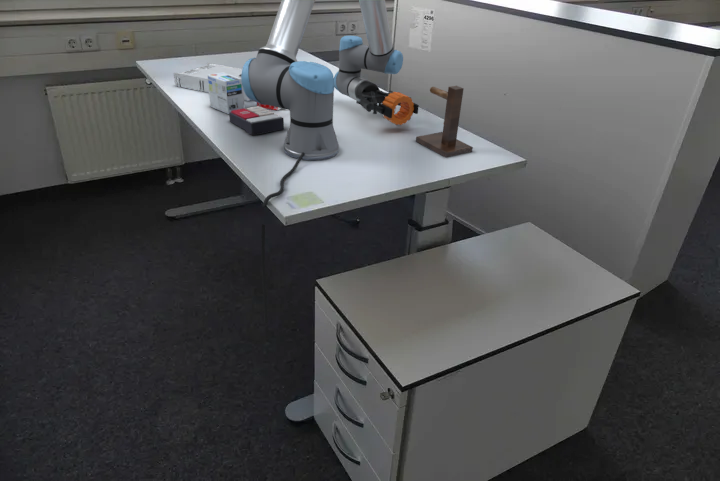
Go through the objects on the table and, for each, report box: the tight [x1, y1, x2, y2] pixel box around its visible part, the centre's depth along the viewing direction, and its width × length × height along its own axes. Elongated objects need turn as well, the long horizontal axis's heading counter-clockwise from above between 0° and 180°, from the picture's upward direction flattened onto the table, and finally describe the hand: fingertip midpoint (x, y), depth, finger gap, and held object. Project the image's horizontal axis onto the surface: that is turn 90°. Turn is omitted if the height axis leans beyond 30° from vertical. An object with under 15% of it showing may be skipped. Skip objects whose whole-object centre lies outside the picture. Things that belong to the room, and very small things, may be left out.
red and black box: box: [228, 105, 285, 136], centre depth 172 cm, size 11×4×15 cm
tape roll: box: [381, 91, 415, 126], centre depth 172 cm, size 9×5×9 cm, turn 122°
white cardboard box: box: [173, 62, 251, 102], centre depth 206 cm, size 19×33×5 cm, turn 64°
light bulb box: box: [207, 72, 245, 115], centre depth 183 cm, size 11×7×11 cm, turn 47°
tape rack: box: [415, 85, 474, 158], centre depth 161 cm, size 16×10×18 cm, turn 32°
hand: (404, 111), depth 169 cm, fingers closed on tape roll, 9 cm apart
